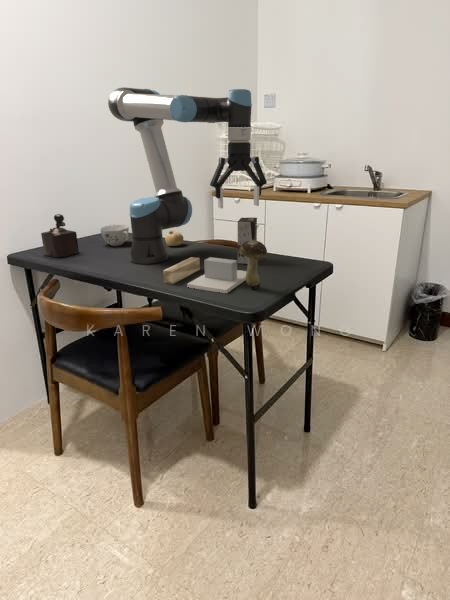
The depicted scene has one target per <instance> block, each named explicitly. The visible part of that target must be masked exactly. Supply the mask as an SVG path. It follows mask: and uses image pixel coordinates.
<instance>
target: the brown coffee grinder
mask: <svg viewBox="0 0 450 600" xmlns="http://www.w3.org/2000/svg"><path fill="white" fill-rule="evenodd" d="M53 219H54V221H55V227H52V228H49V231H45V232H41V233H40V234H41V235H40V236H41V240H42V247H43V253H44V254H43V255H45V256H48V257H51V258H57V259H58V258H59V259H60V258H64V257H69V256H73V255H78V254H79V253H80V251H79V243H78V236H77V235H78V234H77V231H73V230H69V229H66V228H64V227H65V226H66V225H67V224H66V222H64V220H65V217H64V215H63V214H60V213H57V214H54V215H53Z"/></svg>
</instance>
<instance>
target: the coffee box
mask: <svg viewBox="0 0 450 600" xmlns="http://www.w3.org/2000/svg"><path fill="white" fill-rule="evenodd" d="M257 222H258V218H257V217H241V218H239V219H238V221H237V264H243V265H248V257H247V256H245V255H243V254H242V253H241V251H240V246H241V244H243V243H244V242H246V241H249V240H256V241H258V240H257V239H258V223H257Z"/></svg>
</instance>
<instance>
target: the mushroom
mask: <svg viewBox="0 0 450 600" xmlns="http://www.w3.org/2000/svg"><path fill="white" fill-rule="evenodd" d="M240 251H241V253H242V254H243V255H245V256H247V257H248V264H247V267H246V271H247V272H246V280H245V281H246V285H248V286H249V287H250V288H251V289H252V290H257V289H259V287H261V278H260V275H259V272H258V265H259V261H261V260H264V259H265V258H266V257H267V255H268V250H267V247H266V245H264V243H262V242H261V241H259V240H257V241H256V240H249V241H246V242H244V243H243V244H241V246H240Z"/></svg>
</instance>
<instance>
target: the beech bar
mask: <svg viewBox="0 0 450 600" xmlns="http://www.w3.org/2000/svg"><path fill="white" fill-rule="evenodd" d="M200 261H201V259H200V257H193V256H191V257H189V258H186V259H184V260H181V261H180V262H179V263H178V262H177V263H176V264H174V265H172V266H170V267H168V268H165V269H163V283H164V284H171V285H174V284H176V283H178V282H180V281H181V280H183V279H185V278H187V277H188V276H190V275H192V274H195V273H196V272H198V271H200V270H201V262H200Z"/></svg>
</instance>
